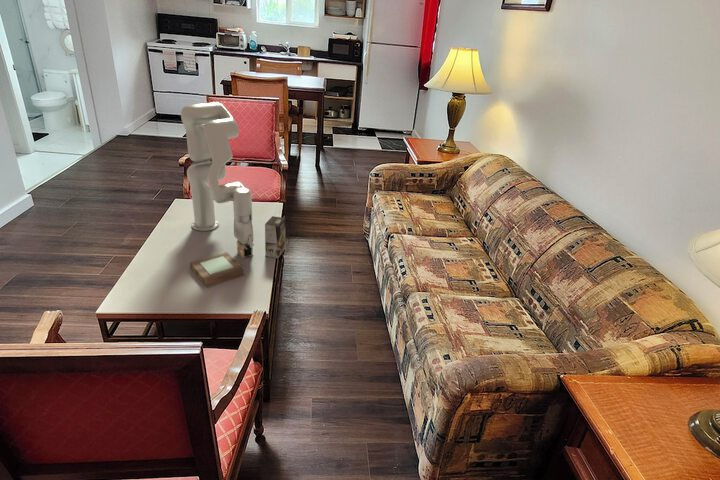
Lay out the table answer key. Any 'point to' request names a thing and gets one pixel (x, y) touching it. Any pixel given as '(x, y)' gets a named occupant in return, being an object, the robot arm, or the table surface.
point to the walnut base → (216, 269)
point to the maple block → (242, 249)
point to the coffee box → (275, 237)
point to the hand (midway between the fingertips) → (245, 252)
